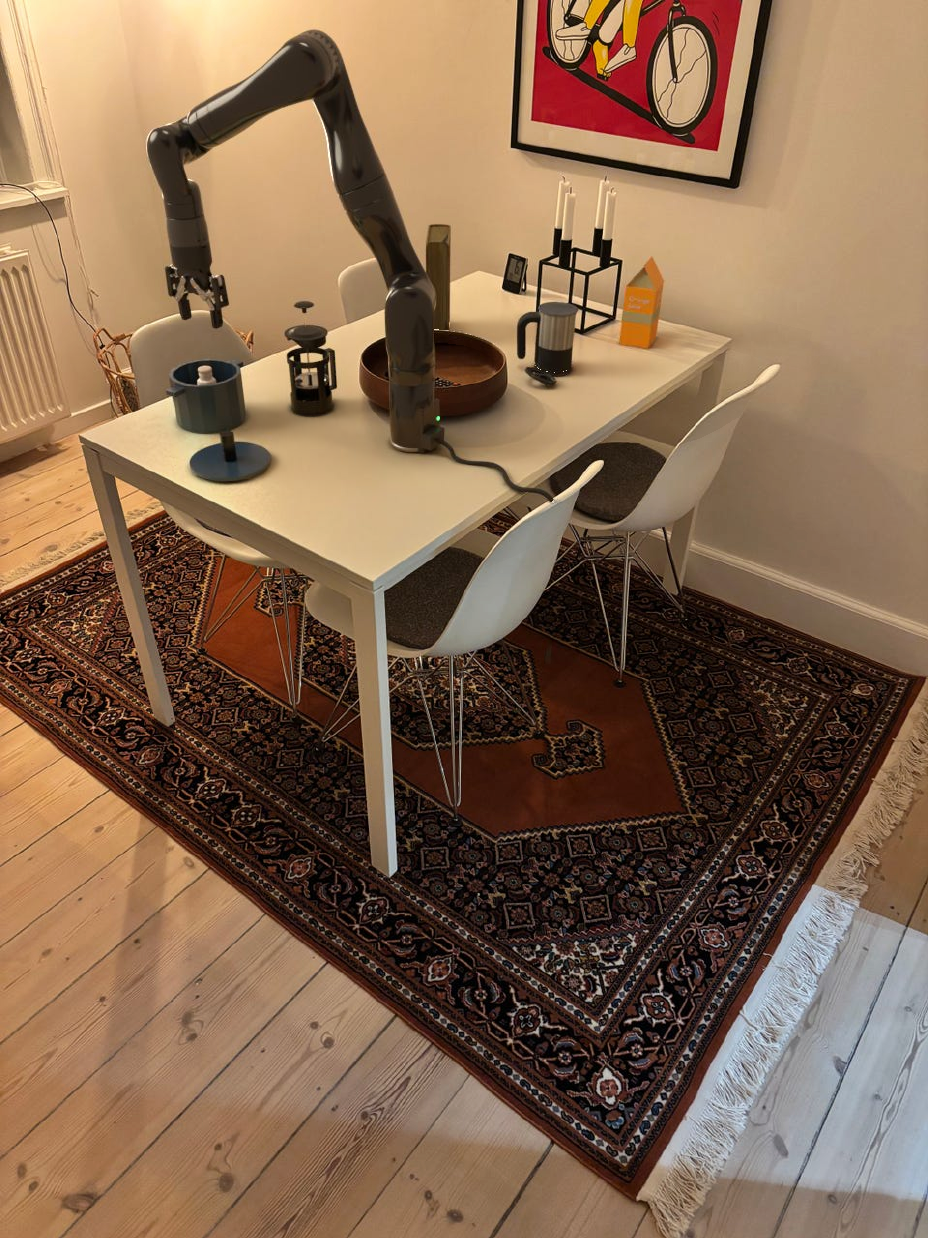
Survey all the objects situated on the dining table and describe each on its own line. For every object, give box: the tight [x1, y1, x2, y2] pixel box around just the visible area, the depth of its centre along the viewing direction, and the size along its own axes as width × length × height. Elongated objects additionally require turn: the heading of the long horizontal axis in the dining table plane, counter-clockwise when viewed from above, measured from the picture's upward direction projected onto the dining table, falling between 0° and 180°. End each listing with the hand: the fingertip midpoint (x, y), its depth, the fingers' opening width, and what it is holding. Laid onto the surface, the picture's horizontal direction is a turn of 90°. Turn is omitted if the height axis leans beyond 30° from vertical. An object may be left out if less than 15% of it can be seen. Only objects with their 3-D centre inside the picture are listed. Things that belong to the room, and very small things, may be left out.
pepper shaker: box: [197, 366, 216, 385], centre depth 203 cm, size 5×5×11 cm
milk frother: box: [516, 301, 579, 387], centre depth 224 cm, size 14×16×15 cm
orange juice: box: [618, 256, 665, 349], centre depth 241 cm, size 8×9×20 cm
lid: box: [189, 430, 272, 482], centre depth 188 cm, size 16×16×7 cm
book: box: [425, 223, 452, 331], centre depth 241 cm, size 16×6×25 cm, turn 179°
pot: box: [165, 358, 247, 434], centre depth 203 cm, size 14×20×10 cm
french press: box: [283, 300, 338, 417], centre depth 205 cm, size 12×9×23 cm
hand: (202, 323), depth 194 cm, fingers open, 8 cm apart
